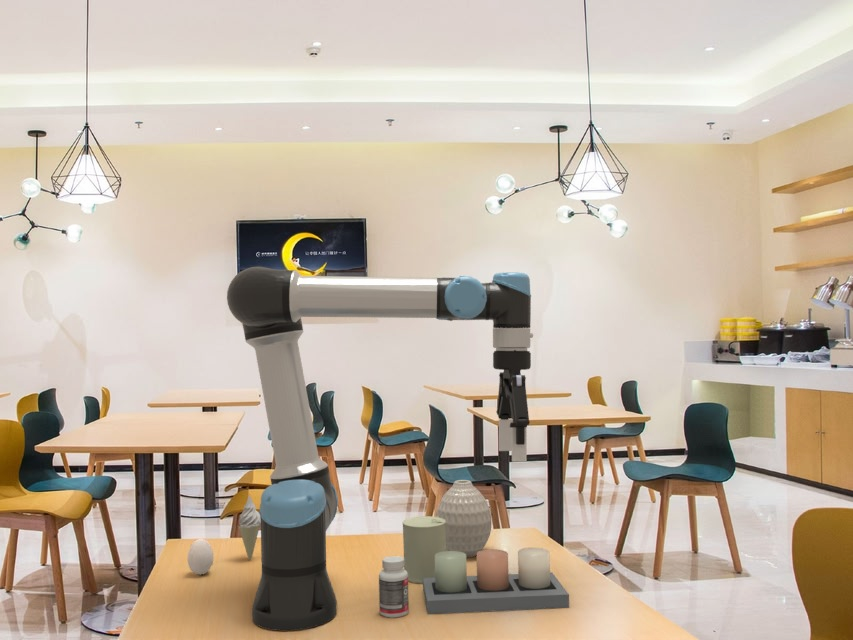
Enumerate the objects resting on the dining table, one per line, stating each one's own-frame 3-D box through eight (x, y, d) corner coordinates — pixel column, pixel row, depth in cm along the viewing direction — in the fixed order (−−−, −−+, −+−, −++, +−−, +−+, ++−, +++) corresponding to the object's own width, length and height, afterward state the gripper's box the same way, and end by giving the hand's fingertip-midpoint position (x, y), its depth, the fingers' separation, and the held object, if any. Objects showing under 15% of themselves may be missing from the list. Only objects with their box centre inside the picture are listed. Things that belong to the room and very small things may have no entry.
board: (427, 614, 136) (427, 600, 136) (423, 590, 149) (422, 578, 149) (569, 607, 138) (568, 594, 138) (552, 584, 150) (552, 572, 151)
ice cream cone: (266, 559, 172) (264, 493, 173) (249, 565, 168) (248, 497, 168) (250, 556, 175) (249, 491, 175) (234, 561, 171) (232, 495, 171)
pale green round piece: (436, 593, 139) (436, 560, 140) (434, 582, 145) (433, 551, 146) (468, 591, 140) (468, 559, 140) (465, 581, 146) (464, 550, 146)
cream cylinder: (522, 589, 140) (521, 557, 141) (516, 579, 146) (515, 548, 147) (553, 587, 141) (552, 555, 141) (546, 577, 147) (545, 546, 147)
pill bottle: (411, 616, 135) (410, 561, 135) (382, 619, 134) (380, 564, 134) (405, 606, 140) (404, 553, 140) (377, 609, 139) (376, 556, 139)
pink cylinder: (479, 591, 140) (478, 558, 140) (475, 580, 146) (474, 549, 146) (511, 589, 140) (510, 557, 141) (505, 579, 146) (505, 548, 146)
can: (443, 584, 152) (441, 525, 152) (398, 582, 154) (397, 523, 154) (450, 570, 161) (449, 514, 161) (408, 569, 163) (407, 513, 163)
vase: (494, 561, 166) (492, 486, 167) (436, 562, 167) (434, 487, 167) (490, 545, 179) (488, 475, 180) (436, 546, 179) (435, 476, 180)
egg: (194, 580, 158) (193, 543, 158) (183, 574, 162) (183, 538, 162) (218, 574, 162) (217, 538, 162) (207, 569, 166) (206, 534, 166)
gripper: (545, 350, 139) (545, 466, 138) (517, 348, 164) (517, 446, 163) (505, 350, 138) (505, 466, 138) (483, 348, 163) (483, 446, 163)
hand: (512, 456), depth 150 cm, fingers open, 13 cm apart
